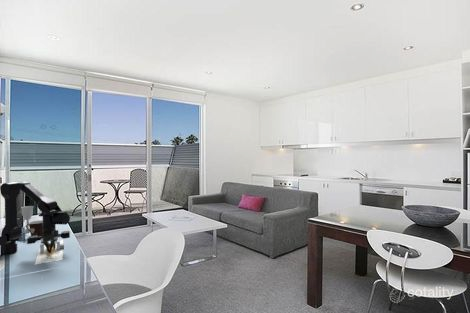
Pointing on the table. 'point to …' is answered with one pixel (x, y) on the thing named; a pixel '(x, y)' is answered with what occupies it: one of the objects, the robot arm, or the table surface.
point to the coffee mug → (36, 228)
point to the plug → (52, 249)
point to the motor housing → (59, 246)
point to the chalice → (27, 215)
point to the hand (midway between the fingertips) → (49, 252)
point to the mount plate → (49, 255)
